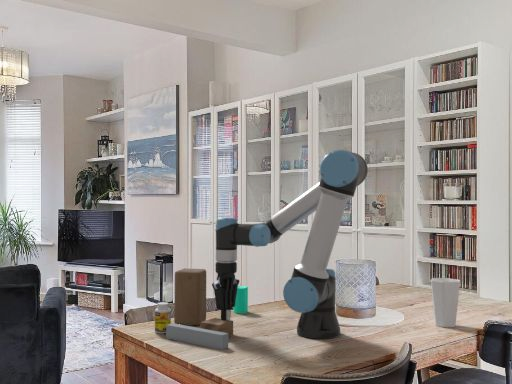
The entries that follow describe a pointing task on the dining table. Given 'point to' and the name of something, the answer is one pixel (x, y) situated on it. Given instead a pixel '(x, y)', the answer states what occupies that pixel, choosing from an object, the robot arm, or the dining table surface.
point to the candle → (241, 300)
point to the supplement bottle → (162, 317)
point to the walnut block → (218, 325)
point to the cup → (445, 300)
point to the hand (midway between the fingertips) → (225, 328)
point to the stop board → (197, 336)
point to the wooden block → (190, 296)
